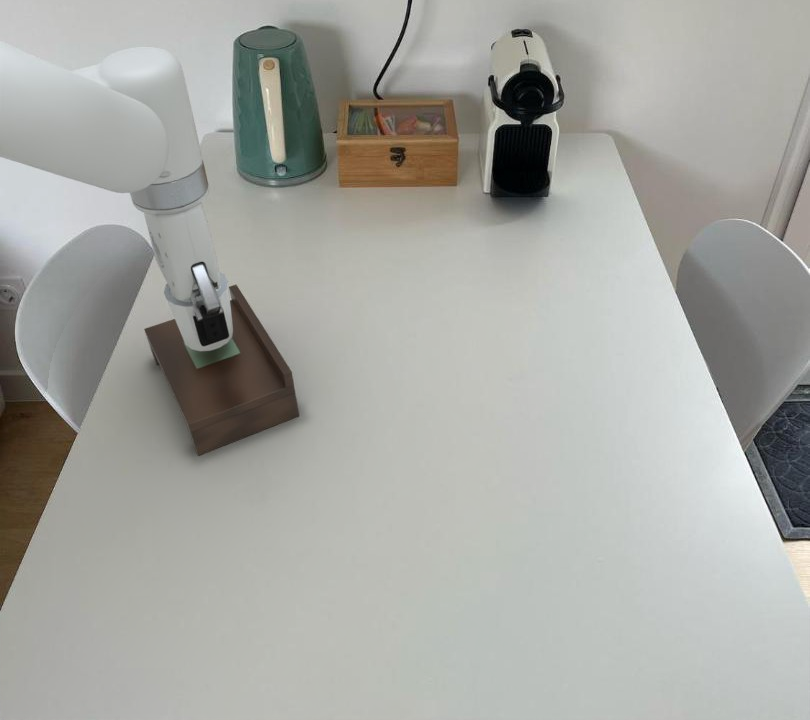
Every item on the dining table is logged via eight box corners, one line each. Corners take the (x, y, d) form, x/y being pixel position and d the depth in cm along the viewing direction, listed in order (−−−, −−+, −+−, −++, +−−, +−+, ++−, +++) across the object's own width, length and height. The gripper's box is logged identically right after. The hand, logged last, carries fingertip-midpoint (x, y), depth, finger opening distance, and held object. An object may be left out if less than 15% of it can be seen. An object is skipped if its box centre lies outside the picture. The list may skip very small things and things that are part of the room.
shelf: (198, 456, 88) (184, 411, 84) (154, 359, 100) (139, 315, 95) (299, 416, 92) (291, 371, 88) (245, 327, 104) (236, 284, 99)
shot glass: (250, 326, 93) (240, 278, 89) (211, 362, 89) (198, 313, 84) (205, 309, 96) (193, 260, 91) (165, 342, 92) (150, 293, 87)
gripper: (108, 154, 84) (151, 291, 96) (153, 236, 72) (195, 380, 84) (179, 136, 86) (212, 271, 98) (233, 212, 75) (263, 355, 87)
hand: (204, 320), depth 91 cm, fingers closed on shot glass, 6 cm apart
